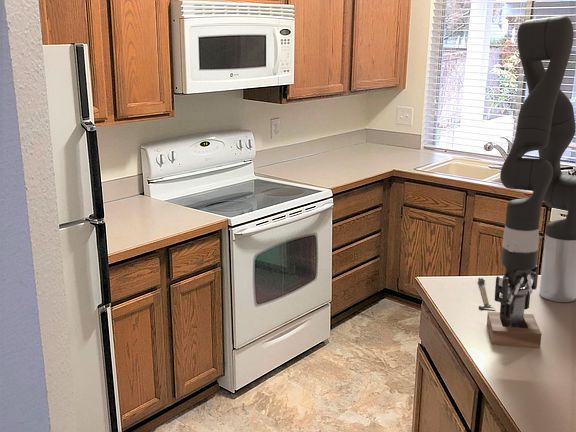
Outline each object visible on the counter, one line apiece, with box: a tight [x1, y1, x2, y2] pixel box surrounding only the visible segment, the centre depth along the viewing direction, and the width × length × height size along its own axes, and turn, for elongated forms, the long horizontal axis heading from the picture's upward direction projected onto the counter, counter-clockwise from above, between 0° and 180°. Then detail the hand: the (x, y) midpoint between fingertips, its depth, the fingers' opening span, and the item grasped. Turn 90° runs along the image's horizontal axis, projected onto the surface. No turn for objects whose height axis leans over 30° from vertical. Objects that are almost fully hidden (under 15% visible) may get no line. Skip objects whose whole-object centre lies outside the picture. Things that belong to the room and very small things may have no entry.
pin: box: [504, 286, 528, 328], centre depth 142 cm, size 5×5×12 cm
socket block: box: [486, 311, 543, 349], centre depth 143 cm, size 10×10×4 cm
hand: (514, 312), depth 142 cm, fingers open, 7 cm apart
